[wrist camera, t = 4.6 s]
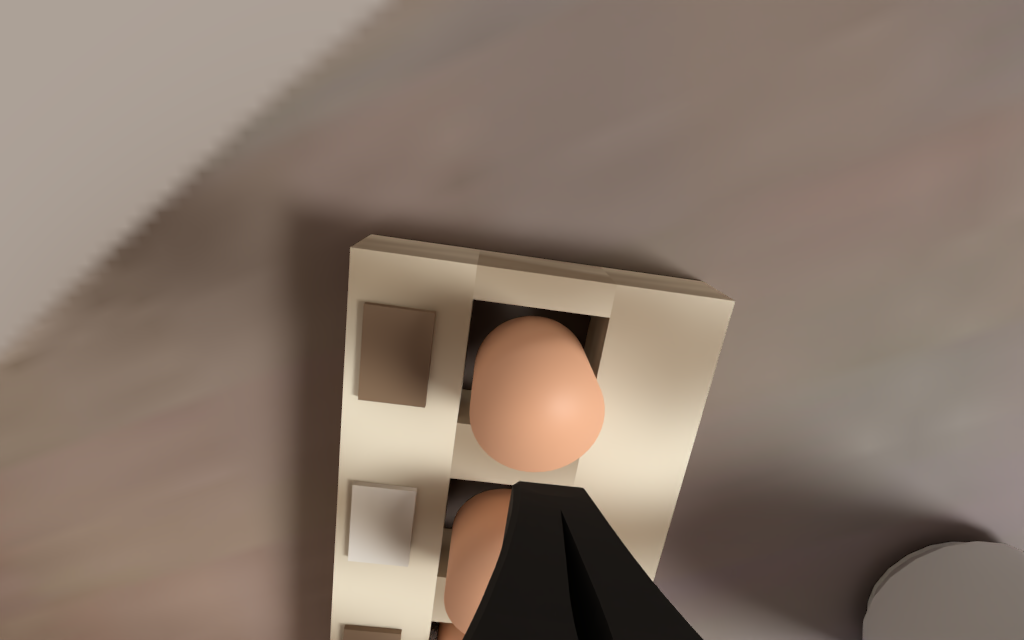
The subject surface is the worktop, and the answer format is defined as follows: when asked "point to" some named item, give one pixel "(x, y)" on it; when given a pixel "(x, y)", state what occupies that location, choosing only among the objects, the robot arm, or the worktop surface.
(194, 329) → the worktop surface
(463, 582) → the button mid
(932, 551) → the can
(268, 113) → the worktop surface
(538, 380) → the button near
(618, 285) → the button board
